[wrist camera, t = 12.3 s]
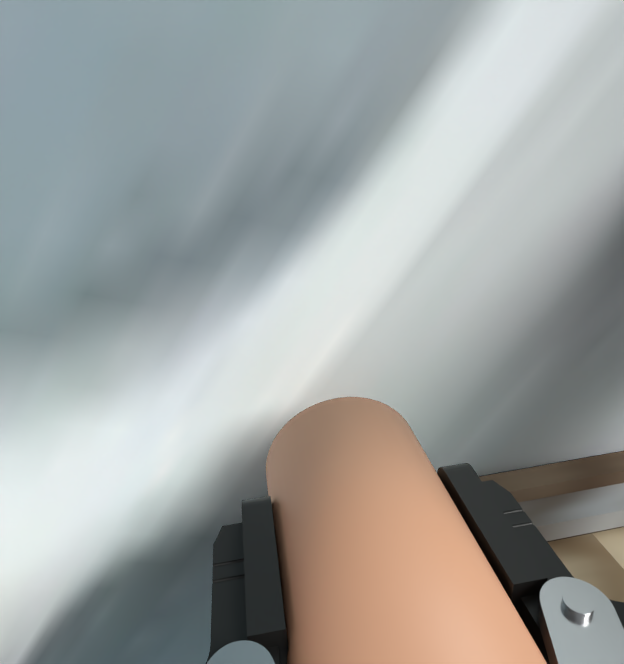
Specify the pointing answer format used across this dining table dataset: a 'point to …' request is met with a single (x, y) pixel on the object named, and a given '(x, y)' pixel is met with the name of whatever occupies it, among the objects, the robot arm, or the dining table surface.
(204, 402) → the dining table surface
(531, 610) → the robot arm
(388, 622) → the dowel
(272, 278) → the dining table surface
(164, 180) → the dining table surface
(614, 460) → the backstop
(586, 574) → the socket block
